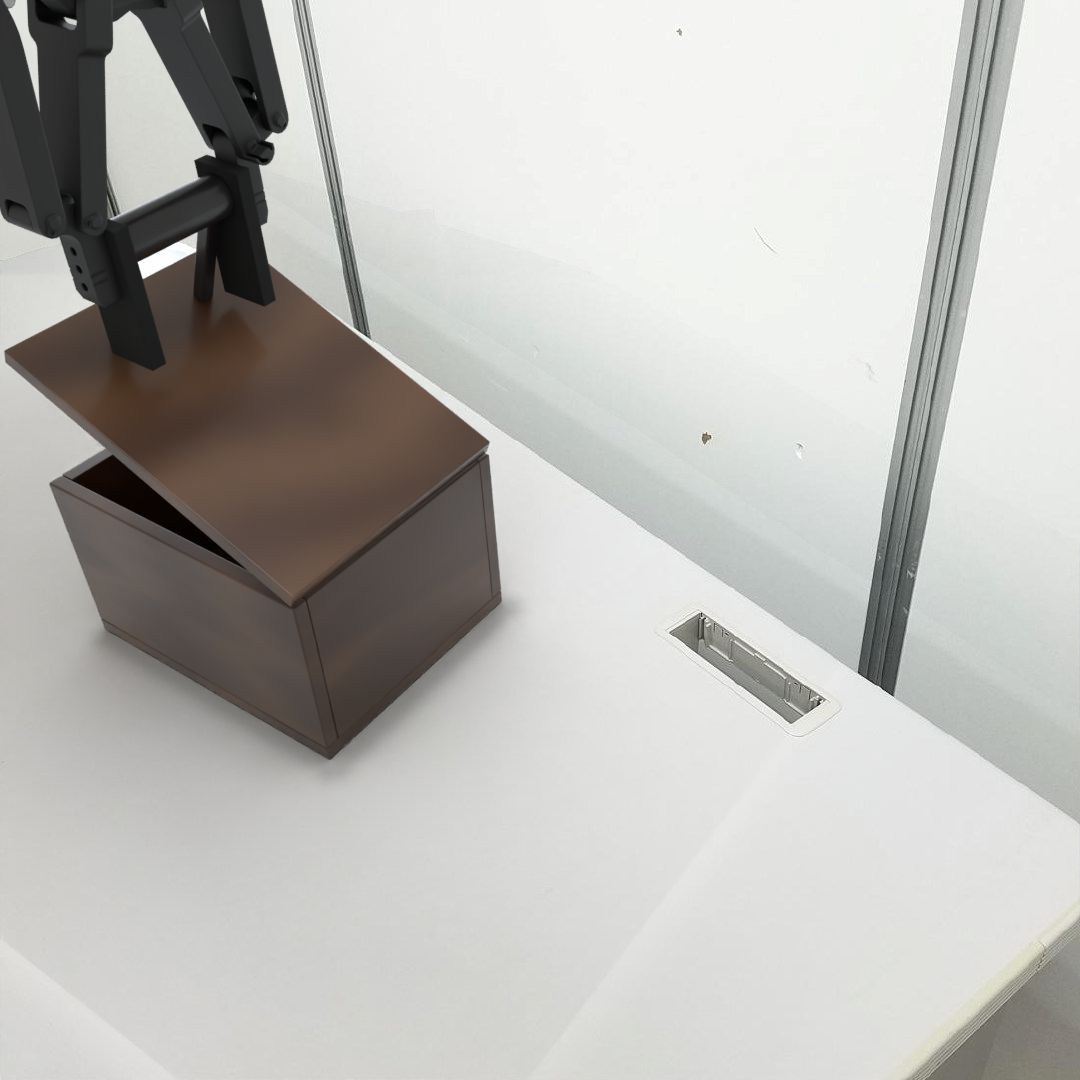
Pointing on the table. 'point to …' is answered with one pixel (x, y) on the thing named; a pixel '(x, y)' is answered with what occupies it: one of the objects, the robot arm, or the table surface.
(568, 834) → the table surface
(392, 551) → the compartment
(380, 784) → the table surface
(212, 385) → the compartment door
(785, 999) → the table surface
